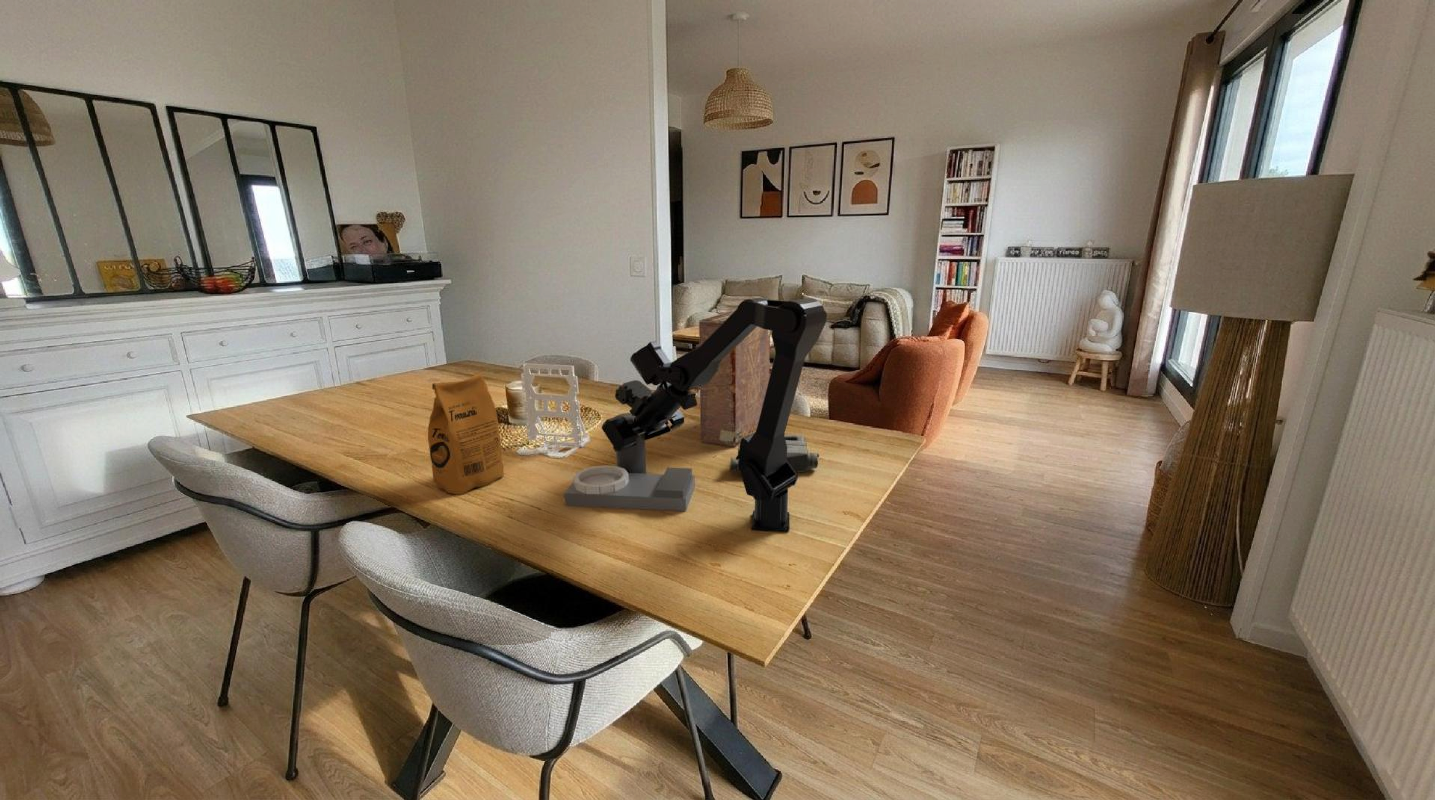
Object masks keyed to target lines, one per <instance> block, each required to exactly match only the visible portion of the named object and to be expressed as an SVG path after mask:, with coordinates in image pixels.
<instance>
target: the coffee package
mask: <svg viewBox="0 0 1435 800" xmlns="http://www.w3.org/2000/svg"><path fill="white" fill-rule="evenodd" d="M431 385H432V387H431V389H432V390H433V391H434V394H435V397H434V399H433V406H432V411H431V412H430V413H431V414H430V416H429V421H428V426H427V441H428V447H429V455H430V456H429V458H430V461H431V471H432V480H433V481H434V483H435V485H436V487H437V488H438V489H443V490H444V491H445V490H446V492H447V493H448V494H451V495H457V496H461V495H463V494H465V493H467V492H469V491H471V490H472V489H474V488H482V486H483V487H487V486H489V485H491V484H493V483H494V482H496V481H497V480H499V479H501V478H503V477H504V475H505V473H504V472H505V471H504V462H503V454H502V444H501V443H502V441H501V433H500V429H499V420H498V415H497V410H496V407H495V406H496V405H495V403H494V400H493V398H492V395H491V393H490V392H489V389H488V385H487V383H486V381H485V378H484V375H483V374H482V373H481V372H480V373H477V374H474V375H472V376H470V377H467V378H466V379H464V380H460V381H449V382H448V381H447V382H433V383H432V384H431ZM495 480H496V481H495ZM492 482H493V483H492ZM490 483H491V484H490Z"/></svg>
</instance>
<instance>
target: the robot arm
mask: <svg viewBox="0 0 1435 800" xmlns="http://www.w3.org/2000/svg"><path fill="white" fill-rule="evenodd" d="M734 310H735V309H734ZM827 317H828V314H827V311H826V310H825V308H824V305H823V304H822V303H821V302H820V301H819V300H817V299H816V298H813V297H807V298H806V297H805V298H800V299H794V300H793V299H792V300H777V299H768V298H763V297H762V296H761V297H756V298H748V299H744V300H743V301H741V302H740V303H739V304H738V306H737V307H736V310H735V311H734V312H733V313H732V314H731V315H730V316H729V317H728V318H727V319H726V320H725V321H724V322H723V323H722V324H721V325H720V326H719V327H718V328H717V329H716V330H715V331H714V332H713V333H712V334H711V335H710V336H709V337H708V338H707V339H706V340H705V341H704V342H703V343H702V344H701V345H700V346H699V345H698V347H696V348H694V349H693V350H691V351H688V352H686V353H685V354H683V355H681V356H680V357H678V358H676V359H675V360H673V361H671V360H670V359H669V357H668V356H667V355H666V353H665V352H664V350H663V348H662V346H661V345H660V343H659V341H657V340H654V341H650V342H648V343H647V345H645V346H643V347H642V348H640V349H638V350H637V351H636V352H635V351H634V352H633V353H632V355H631V356H630V363H631V364H632V365H633V367H634V368H635V370H636V371H637V373H638V374H639V376H640V377H641V378H642V379H643V381H644V383H645V384H646V385H645V384H644V383H642V382H641V381H640V380H636V379H635V380H632V381H627V382H623V383H622V384H620V385H619V386H618V388H617V389H615V393H614V397H615V400H617V401H618V402H619V403H620V404H621V405H627V406H628V407H630V410H629V413H631V414H632V416H635V418H633V421H634V422H635V423H632V424H630V425H629V423H628V422H627V420H626V419H625V418H624V417H623V416H617V415H615V416H616V417H615V416H614V417H611V418H607V419H606V420H604V422H603V423H602V424H601V430H602V431H603V433H604V434H605V436H606V437H607V439H608V441H609V442H610V444H611V445H612V448H613V451H615V452H617V451H621V450H624V449H628V448H630V447H633V446H635V445H637V444H636V441H637V440H636V439H637V438H638V435H639V434H642V433H644V432H645V441H649V440H651V439H654V438H656V437H660V436H662V435H665V434H667V433H670V432H671V431H674V430H677V429H679V428H681V427H682V426H683V424H684V423H685V416H684V414H683V413H682V412H681V410H680V408H681V409H683V410H684V411H686V410H689V409H692V408H694V407H697V406H698V400H697V398H696V393H695V392H692V391H691V390H693V389H696V388H700V386H703V385H706V384H707V383H709V381H710V380H711V379H712V377H713V376H714V375H715V373H716V372H717V370H718V366H719V363H720V362H721V361H722V359H723V358H724V357H725V356H726V355H728V354H729V353H730V352H731V351H732V350H733V349H734V348H735V347H736V346H737V345H738V344H739V343H740V342H741V341H742V340H744V339H745V338H746V337H747V336H748V335H749V334H750V333H751V332H752V331H753V330H754V329H755V328H756V327H757V326H758V327H760V328H763V329H767V330H770V331H771V338H772V342H773V343H772V344H773V347H774V350H775V351H774V352H775V353H774V357H773V362H772V365H771V368H770V375H769V381H768V385H767V389H766V393H765V397H764V401H763V405H762V409H761V413H760V417H759V421H758V425H757V429H756V430H755V432H754V431H753V432H752V433H751V434H750V435H748V436H746V437H744V438H742V439H741V442H740V444H739V445H740V450H739V453H738V452H737V455H736V456H735V459H736V460H739V461H738V471H737V472H739V473H740V476H741V478H742V479H741V480H742V482H743V486H744V488H745V493H746V496H750V497H753V500H754V509H753V510H752V519H751V525H750V526H751V527H750V529H751V530H754V531H769V532H771V531H774V532H775V531H776V532H789V531H790V528H791V527H790V522H791V521H790V511H788V505H789V504H788V503H789V500H788V499H789V489H790V488H791V487H793V486H796V485H797V481H798V479H799V474H798V472H796V471H795V470H794V469H793V467H792V466H791V465H790V463H789V462H788V461H787V459H786V458H787V444H786V441H785V437H784V434H786V433H785V432H786V429H787V426H788V421H789V418H790V415H791V411H792V408H793V403H794V399H795V398H796V397H795V396H796V393H797V389H798V385H799V382H800V379H801V375H802V371H803V367H804V364H805V360H806V357H807V356H808V354H809V353H810V352H811V350H812V349H813V348H814V346H815V345H816V343H817V342H818V341H819V339H820V336H821V334H822V332H823V330H824V327H825V326H826V323H827V320H828V318H827ZM651 384H652V385H653V386H657V388H656V389H655V390H654V391H652V390H651V388H649V387H648V386H649V385H651ZM669 423H670V424H671V425H670V426H669Z"/></svg>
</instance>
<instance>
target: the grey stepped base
mask: <svg viewBox="0 0 1435 800" xmlns="http://www.w3.org/2000/svg"><path fill="white" fill-rule="evenodd" d="M695 478H696V476H695V475H693V468H691V467H689V468H687V467H667V468H666V469H665V471H664V473H646V474H644V473H628V472H627V471H626V470H625V469H624V468H620V467H617V465H606V464H605V465H595V466H589V467H586V468H584V469H582V470H579V471H578V472H576V473H575V474H574V476H572V481H573V482H572V484H570V485H569V487H568V488H567V489H566V490H565V491H564V492H563V497H564V506H569V507H588V508H589V507H590V508H591V507H592V508H607V509H608V508H609V509H633V510H649V511H650V510H653V511H673V512H675V511H676V512H687V510H688V507H689V504H690V502H691V499H692V495H693V493H694V491H695V487H696V480H695Z"/></svg>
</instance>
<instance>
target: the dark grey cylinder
mask: <svg viewBox="0 0 1435 800" xmlns="http://www.w3.org/2000/svg"><path fill="white" fill-rule="evenodd" d="M616 416H623V417H624V418H625V419H626V420H627V422H628V423H629V425H630V424H632V423H635V422H634V421H633V418H635V416H632V414H631V413H630V412H624V413H619V414H617V415H615V416H614V417H616ZM636 440H637V441H636V444H637V445H635V446H633V447H630V448H628V449H624V450H621V451H617V452H616V453H615V455H616V466H617V467H620V468H624V469H625V470H626V471H627V472H628V473H644V474H647V458H646V457H647V455H646V454H647V453H646V440H645V432H644V433H642V434H639V435H638V438H637V439H636Z"/></svg>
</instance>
